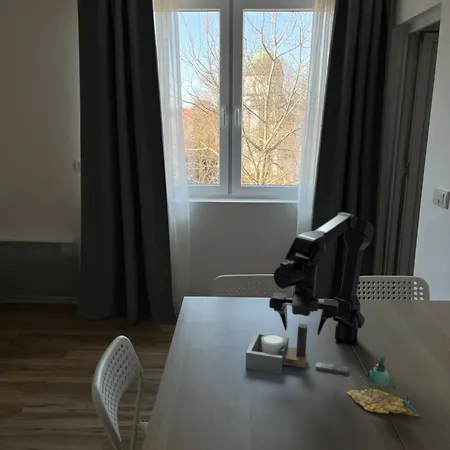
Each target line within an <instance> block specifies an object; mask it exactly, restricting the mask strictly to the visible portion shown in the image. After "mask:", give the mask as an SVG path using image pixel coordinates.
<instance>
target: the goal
mask: <svg viewBox="0 0 450 450" xmlns="http://www.w3.org/2000/svg"><path fill="white" fill-rule="evenodd" d="M267 334H268V333H266V332H259V331H256V332H255V333H254V335H253V338H252V340H251V342H250V343H249V346H247V347H248V348H247V350H246V351H245V369H248V370H254V371H260V372H266V373H271V374H272V373H273V374H277V375H282V372H283V365H282V359H283V356H280V355H273V354H267V353H262V352H259V350H261V351H262V341H261V338H262V336H264V335H267ZM281 336H282V337H284V338H287V339H288V346H287V347H289V343H290V337H289V336H288V335H287V336H285V335H281Z"/></svg>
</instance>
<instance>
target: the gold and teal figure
mask: <svg viewBox="0 0 450 450" xmlns="http://www.w3.org/2000/svg"><path fill="white" fill-rule="evenodd" d="M385 360H386V355H383V354H382V355H381V356H380V359H378V360H377V364H375V366H372V367H371V369H370V370H369V371H368V372H367V374H366V375H365V376H366V377H367V378H369V379H368V380H369V381H370V382H369V383H367V382H366V381H365V379H364V378H363V375H360V376H359V378H360V380H361V379H362V381H363V382H365V384H366V385H368V386H365V385H364V384H361V386H360V387H361V388H362V389H363V390H355V389H351V390H350V389H349V391H346V394H347V395H348V396H350V397H351V398H352V400H353V401H354V402H355V403H357V404H359V405H360V406H361V407H362V408H363V409H364V410H365V411H368V412H369V411H370V412H372V413H374V412H375V413H379V414H389V413H391V412H392V413H393V414H402V415H405V414H406V415H408V416H411V417H420V415H419V413H417V412H418V411H417V408H416V406H415V405H414V404H413V403H412V400H410V399H409V395H407V396H406V397H405V399H402V398H399V397H398V396H396V395H395V394H392V393H389V392H385V391H382V390H381V388H384V387H387V385H389V382H390V380H391V379H390V378H392V379H393V385H392V387H393V388H394V389H396V388H397V386H396V383H395V377H394V376H390V374H389V371H387V369H386V366H385V364H384V362H385ZM371 386H372V387H371ZM364 388H365V389H364ZM366 388H367V389H366ZM375 388H377V389H375Z"/></svg>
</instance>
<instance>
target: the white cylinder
mask: <svg viewBox="0 0 450 450" xmlns="http://www.w3.org/2000/svg"><path fill="white" fill-rule="evenodd" d="M282 336H283V335H280V334H275V333H267V335H264V336H262V338H261V341H262V350H261V351H262V352H261V353H267V354H273V355H279V351H280V348H281V347H283V346H284V344H285V339H284V337H282Z"/></svg>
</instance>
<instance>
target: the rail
mask: <svg viewBox="0 0 450 450" xmlns="http://www.w3.org/2000/svg"><path fill="white" fill-rule="evenodd" d="M315 370H316V371H322V372H328V373H333V374H334V373H335V374H341V375H348V376H349V367H348V366H344V365H343V366H342V365H336V364H331V363H329V364H328V363H323V362H318V361H317V362H316V363H315Z"/></svg>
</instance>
